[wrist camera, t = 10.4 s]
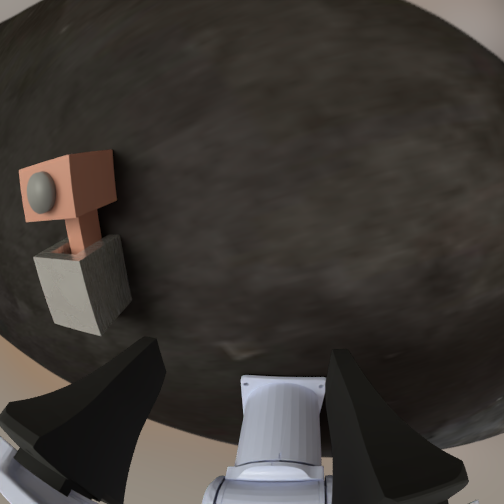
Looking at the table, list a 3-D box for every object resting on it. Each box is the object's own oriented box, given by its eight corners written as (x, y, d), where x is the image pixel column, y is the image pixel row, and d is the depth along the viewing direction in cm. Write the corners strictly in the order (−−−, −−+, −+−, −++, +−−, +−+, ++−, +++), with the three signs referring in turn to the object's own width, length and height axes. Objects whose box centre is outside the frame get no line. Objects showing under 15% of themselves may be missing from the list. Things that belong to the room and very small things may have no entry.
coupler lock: (132, 300, 22) (101, 335, 17) (87, 293, 23) (54, 323, 18) (120, 234, 20) (79, 261, 15) (74, 234, 21) (33, 256, 16)
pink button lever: (138, 312, 23) (108, 351, 18) (89, 305, 23) (57, 337, 18) (112, 149, 18) (62, 155, 12) (60, 161, 18) (13, 171, 13)
